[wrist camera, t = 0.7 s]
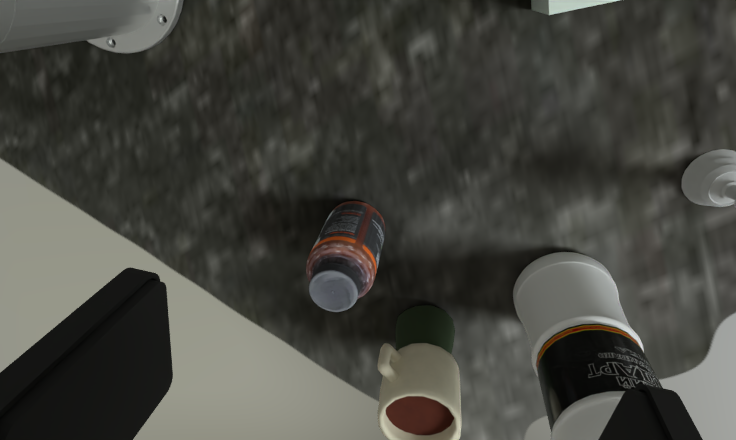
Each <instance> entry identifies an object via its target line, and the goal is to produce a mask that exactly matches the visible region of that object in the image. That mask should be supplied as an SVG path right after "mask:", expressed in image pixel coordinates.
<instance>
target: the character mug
mask: <svg viewBox="0 0 736 440" xmlns="http://www.w3.org/2000/svg"><path fill="white" fill-rule="evenodd" d="M454 334H455V328H454V324H453V320H452V318H451V317H450V316H449V315H448V314H447V313H446V312H445V311H444V310H442V309H439V308H437V307H434V306H416V307H413V308H410V309H407V310H405V311H404V312H403V313H402V314H401V315H399V316H398V319H397V323H396V336H395V340H396V350H395V349H394V348H393V347H392V346H391V345H390V344H386V343H384V344H383V346H382V348H381V349H380V355H379V360H378V370H379V371H380V373H381V374H382V375H383V379H382V384H381V388H380V399H379V407H378V422H379V427H380V429H381V431H382V433H383V434H384V435H385V436H386V438H388V439H389V440H459V438H460V435H461V432H460V431H461V397H460V375H459V367H458V364H457V363H456V361H455V359H454V358H453V356H452V354H451V353H452V347H453V342H454Z"/></svg>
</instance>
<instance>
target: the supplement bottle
mask: <svg viewBox="0 0 736 440" xmlns="http://www.w3.org/2000/svg"><path fill="white" fill-rule="evenodd" d="M384 238H385V223H384V220H383V218H382V216H381V215H380V213H379V212H378V211H377V210H376V209H375V208H373V207H372V206H370V205H369V204H366V203H364V202H359V201H348V202H345V203H342V204H340V205H338V206H337V207H336V208H334V209H333V210H332V212H331V213H330V215H329V216H328V218H327V220H326V222H325V224H324V226H323V228H322V230H321V232H320V234H319V236H318V238H317V240H316V242H315V244H314V246H313V248H312V250H311V253H310V255H309V257H308V260H307V264H306V273H307V277H308V280H309V282H310V283H309V293H310V296H311V298H312V300H313V301H314V302H315V303H316V304H317V305H318V306H319V307H321V308H323V309H325V310H327V311H332V312H341V311H344V310H348V309H349V308H351V307H352V306H353V305H354V304H355V302H356V301H357V299H358V298H360V297H362V296H364V295H365V294H366V293H367V292H368V291H369V290H370V288H371V287H372V285H373V282H374V280H375V276H376V272H377V268H378V264H379V260H380V255H381V251H382V246H383V242H384Z"/></svg>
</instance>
